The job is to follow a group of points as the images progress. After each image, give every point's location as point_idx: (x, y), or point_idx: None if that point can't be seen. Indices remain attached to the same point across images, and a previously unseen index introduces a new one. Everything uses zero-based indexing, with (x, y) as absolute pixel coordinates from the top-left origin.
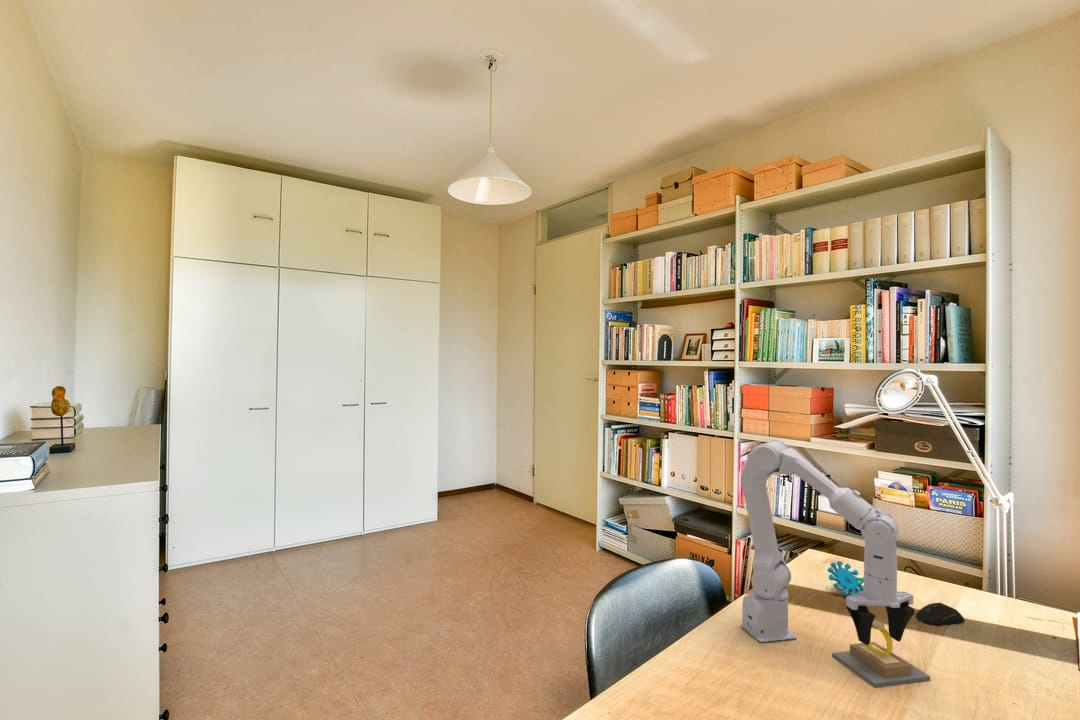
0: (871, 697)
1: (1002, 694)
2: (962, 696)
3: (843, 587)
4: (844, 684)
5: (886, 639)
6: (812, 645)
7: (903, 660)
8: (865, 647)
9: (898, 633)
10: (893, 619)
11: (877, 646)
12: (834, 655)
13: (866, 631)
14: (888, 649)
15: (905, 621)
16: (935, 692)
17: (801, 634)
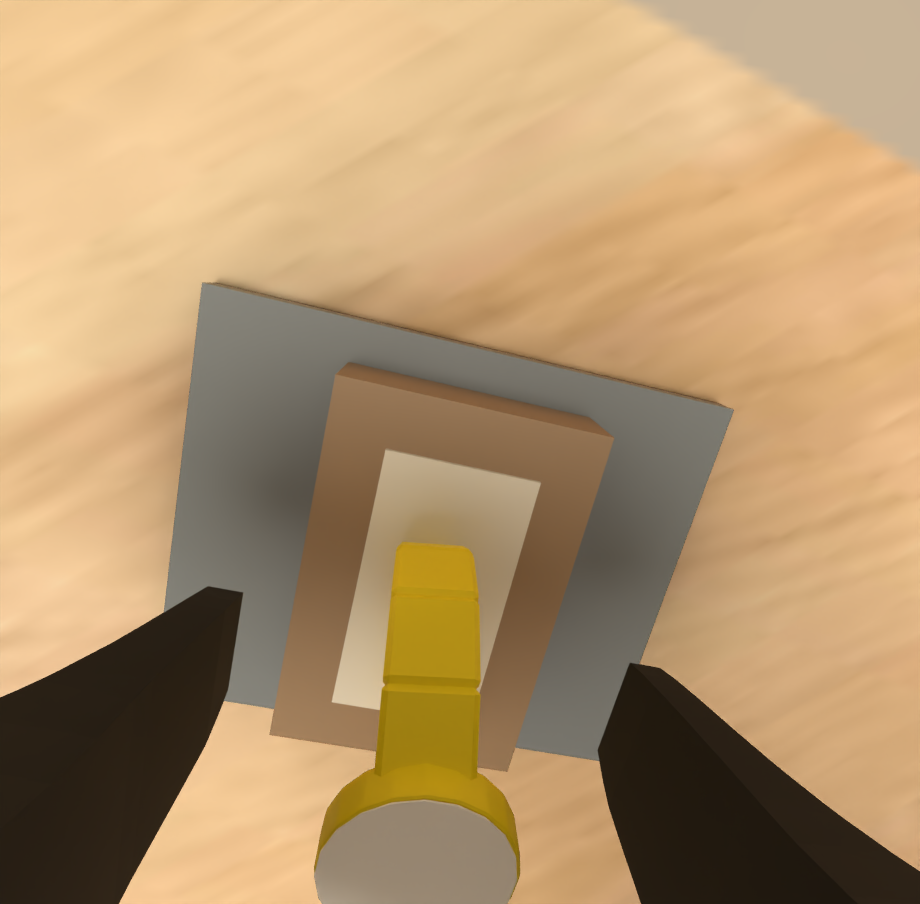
0: (859, 341)
1: None
2: (182, 14)
3: None
4: (855, 511)
5: (478, 626)
6: (578, 858)
7: (322, 454)
8: None
9: (203, 650)
10: (99, 871)
11: (316, 678)
12: None
13: (803, 787)
14: (465, 551)
15: (12, 741)
16: (350, 162)
17: None
